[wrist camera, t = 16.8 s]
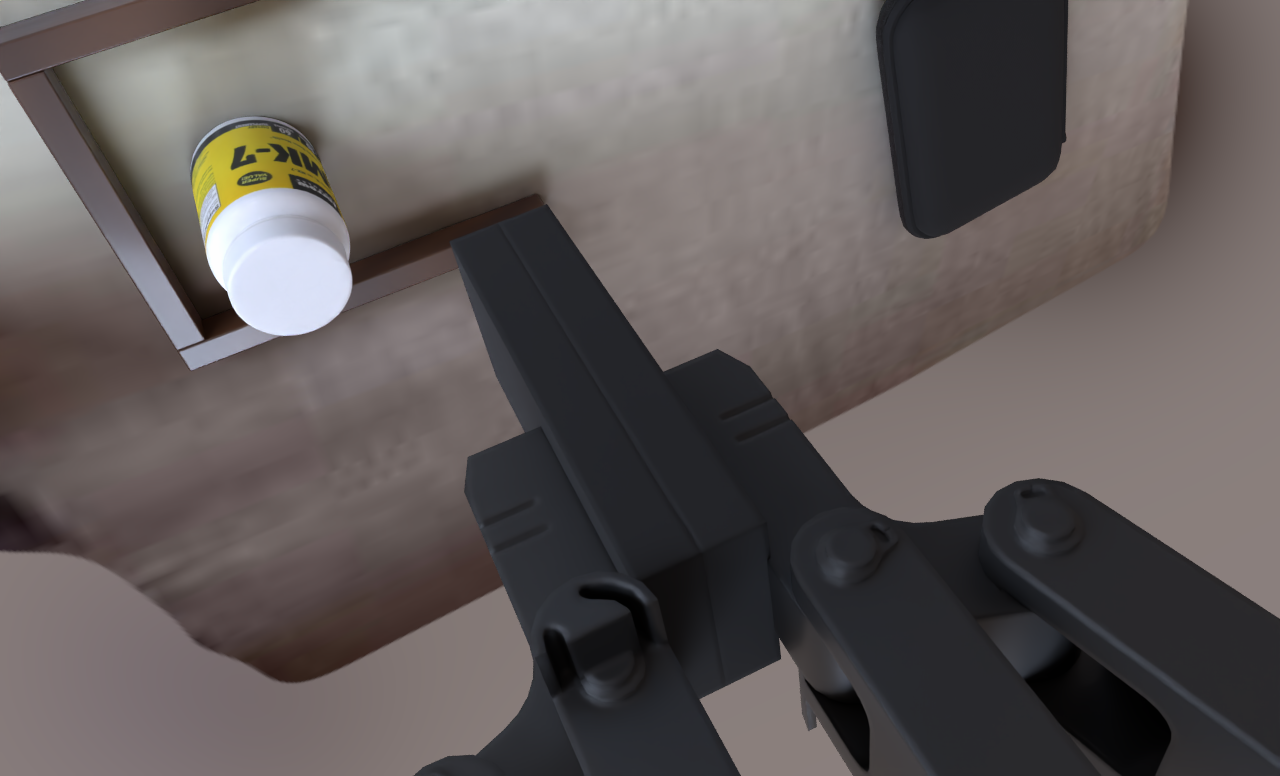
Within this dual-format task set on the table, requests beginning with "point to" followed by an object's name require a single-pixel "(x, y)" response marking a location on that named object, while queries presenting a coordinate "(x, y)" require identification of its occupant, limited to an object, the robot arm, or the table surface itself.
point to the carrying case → (971, 103)
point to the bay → (24, 55)
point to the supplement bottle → (271, 225)
